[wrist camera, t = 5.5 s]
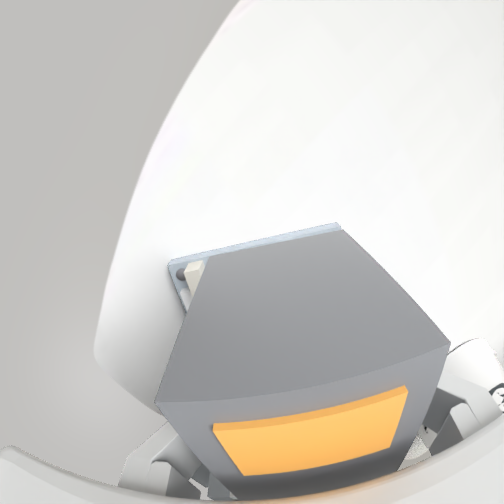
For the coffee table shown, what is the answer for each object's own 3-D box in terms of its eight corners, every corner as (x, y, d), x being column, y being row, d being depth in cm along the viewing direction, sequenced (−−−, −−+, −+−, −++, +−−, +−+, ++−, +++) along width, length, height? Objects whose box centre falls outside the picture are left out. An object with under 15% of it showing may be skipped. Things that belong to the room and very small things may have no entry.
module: (349, 388, 11) (382, 497, 6) (258, 406, 12) (258, 520, 6) (342, 229, 9) (455, 348, 3) (209, 256, 9) (151, 409, 3)
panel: (345, 304, 24) (355, 322, 21) (200, 334, 25) (195, 355, 23) (336, 222, 21) (348, 233, 19) (171, 259, 23) (161, 275, 20)
